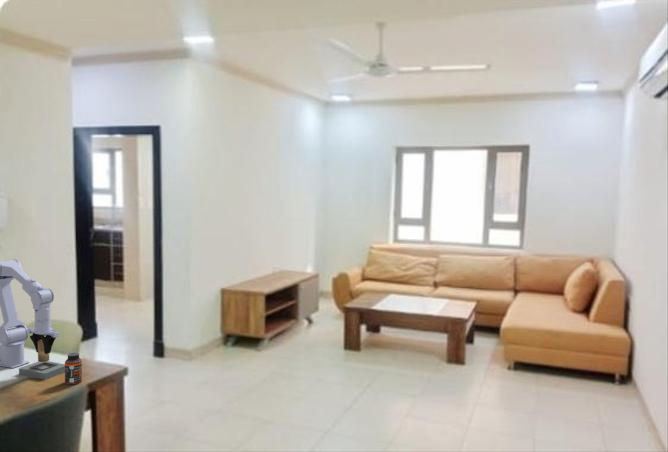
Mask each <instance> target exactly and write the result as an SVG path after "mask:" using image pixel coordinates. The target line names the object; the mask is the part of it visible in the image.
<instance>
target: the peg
mask: <svg viewBox="0 0 668 452" xmlns="http://www.w3.org/2000/svg"><path fill="white" fill-rule="evenodd" d="M46 361H50V353H48V354H45V352H44V344H43V341H42V340H39V341H38V353H37V362H46Z"/></svg>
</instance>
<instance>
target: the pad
mask: <svg viewBox="0 0 668 452" xmlns="http://www.w3.org/2000/svg"><path fill="white" fill-rule="evenodd" d="M47 367H50V366H48V365H43V366H40V367H37V368H40V369H45V368H47Z"/></svg>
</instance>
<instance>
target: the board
mask: <svg viewBox="0 0 668 452" xmlns="http://www.w3.org/2000/svg"><path fill="white" fill-rule="evenodd" d="M43 365H48V366H50V367H47V368H45V369H40V368H37V367H40V366H43ZM63 373H64V374H65V363H59V362H55V361H50V360H49V361H46V362H39V361H36V362H33V363H29V364H28V365H25V366H22V367H18V374H19V376H25V377H30V378H33V379H39V380H45V381H47V380H48V379H51V378H53V377H56V376H59V375H61V374H63Z"/></svg>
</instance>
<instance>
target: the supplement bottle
mask: <svg viewBox="0 0 668 452" xmlns="http://www.w3.org/2000/svg"><path fill="white" fill-rule="evenodd" d="M64 364H65V372H64V383H65V385H69V386H71V385H72V386H73V385H77V384H81V382H82V380H83V361H82V358H80V353H78V352H70V353H68V354H67V359H66V360H65V362H64Z"/></svg>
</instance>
